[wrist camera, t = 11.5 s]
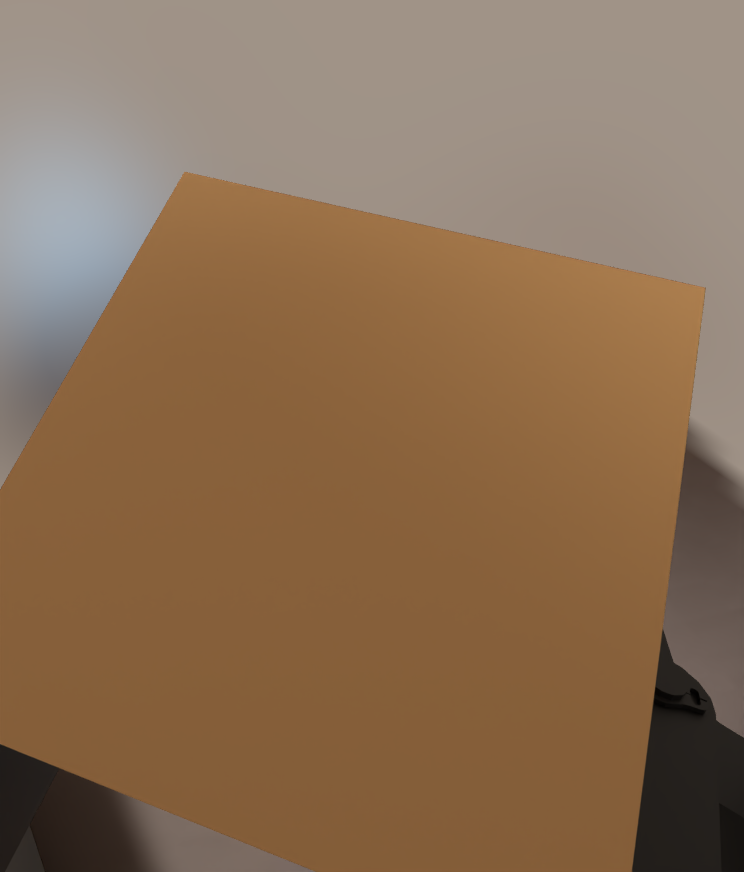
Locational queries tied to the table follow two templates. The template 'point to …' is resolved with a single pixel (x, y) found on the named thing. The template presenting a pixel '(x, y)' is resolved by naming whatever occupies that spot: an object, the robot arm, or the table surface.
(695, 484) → the table surface
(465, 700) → the module
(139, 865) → the table surface
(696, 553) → the table surface
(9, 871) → the case
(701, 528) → the table surface
